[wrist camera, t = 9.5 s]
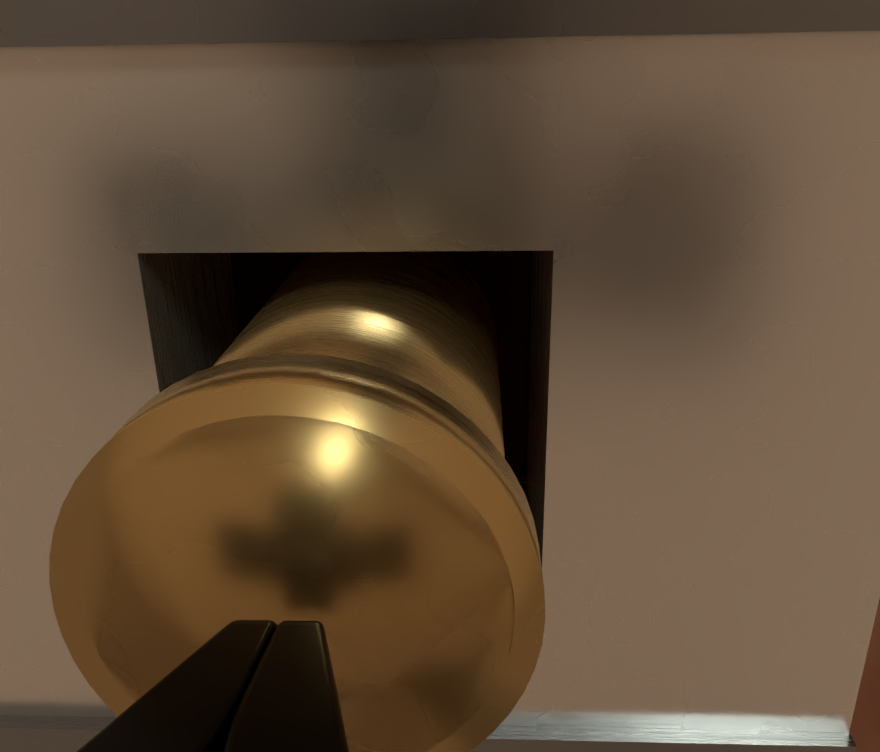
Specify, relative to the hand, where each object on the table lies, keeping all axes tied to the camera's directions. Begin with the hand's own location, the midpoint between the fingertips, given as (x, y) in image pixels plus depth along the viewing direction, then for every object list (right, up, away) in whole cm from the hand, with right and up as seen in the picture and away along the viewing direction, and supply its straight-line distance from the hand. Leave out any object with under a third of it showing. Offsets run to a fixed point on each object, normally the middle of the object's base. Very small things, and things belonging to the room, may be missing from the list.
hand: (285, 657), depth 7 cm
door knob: (0, +3, +8) cm, 9 cm away
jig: (0, +3, +8) cm, 9 cm away
